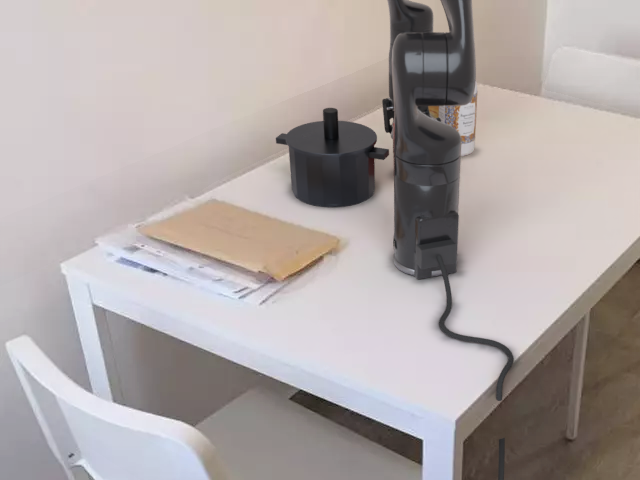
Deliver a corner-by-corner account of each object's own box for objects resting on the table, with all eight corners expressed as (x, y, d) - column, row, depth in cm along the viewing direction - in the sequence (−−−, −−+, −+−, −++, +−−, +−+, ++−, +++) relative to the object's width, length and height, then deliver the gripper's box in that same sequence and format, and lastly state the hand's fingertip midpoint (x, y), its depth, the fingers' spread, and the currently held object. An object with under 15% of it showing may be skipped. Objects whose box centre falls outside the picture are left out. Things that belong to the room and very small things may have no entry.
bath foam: (451, 160, 163) (454, 51, 152) (430, 147, 167) (433, 40, 156) (481, 152, 166) (487, 45, 155) (461, 140, 171) (465, 35, 160)
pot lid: (356, 166, 138) (355, 132, 135) (270, 152, 142) (267, 119, 138) (390, 133, 150) (389, 101, 147) (309, 121, 154) (307, 90, 150)
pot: (371, 215, 143) (370, 163, 138) (263, 197, 147) (258, 146, 142) (401, 182, 154) (401, 133, 149) (299, 166, 158) (296, 117, 153)
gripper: (368, 63, 148) (370, 156, 158) (419, 86, 139) (418, 184, 149) (403, 55, 152) (403, 147, 162) (456, 78, 143) (452, 173, 153)
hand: (410, 164), depth 155 cm, fingers closed on tomato can, 6 cm apart
